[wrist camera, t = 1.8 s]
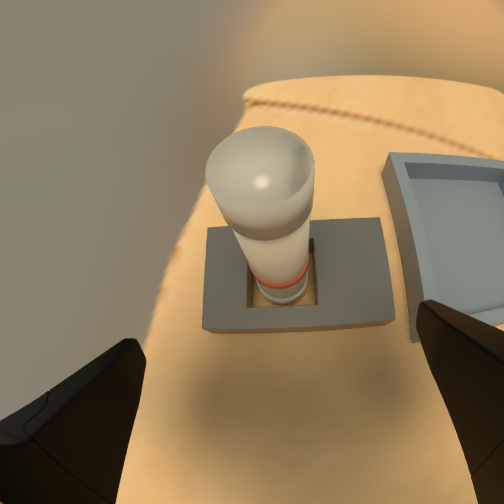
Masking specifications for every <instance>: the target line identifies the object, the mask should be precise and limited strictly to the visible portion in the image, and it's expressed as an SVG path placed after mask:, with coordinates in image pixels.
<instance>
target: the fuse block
mask: <svg viewBox="0 0 504 504" xmlns="http://www.w3.org/2000/svg"><path fill="white" fill-rule="evenodd" d="M308 250H309V253H313V266H314V281H315V297H316V305H304V306H283V307H256V308H253V273H252V271H251V269H250V267H249V264H248V261H247V259H246V257H245V255H244V253H243V250H242V248H241V246H240V244H239V242H238V240H237V238H236V236H235V234H234V232H233V230H232V228H231V227H230V226H223V227H210V228H208V230H207V244H206V259H205V276H204V294H203V316H202V329H204V330H206V331H209V332H211V333H283V332H305V331H322V330H336V329H349V328H360V327H371V326H380V325H385V324H387V323H389V322H391V321H393V320H395V310H394V301H393V293H392V285H391V278H390V271H389V265H388V258H387V252H386V247H385V241H384V236H383V231H382V226H381V221H380V217H375V218H352V219H331V220H313V221H310V227H309V247H308Z"/></svg>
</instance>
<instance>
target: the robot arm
mask: <svg viewBox="0 0 504 504" xmlns="http://www.w3.org/2000/svg"><path fill="white" fill-rule="evenodd" d="M416 330H417V333H418V336H419V339H420V341H421V344H422V347H423V350H424V353H425V356H426V359H427V362H428V365H429V367H430V370H431V372H432V374H433V377H434V379H435V381H436V383H437V386H438V388H439V390H440V393H441V395H442V397H443V400H444V402H445V404H446V407H447V409H448V412H449V414H450V417H451V419H452V422H453V425H454V427H455V430H456V433H457V435H458V438H459V441H460V444H461V447H462V450H463V453H464V456H465V459H466V462H467V465H468V468H469V471H470V474H471V479H472V482H473V486H474V490H475V493H476V497H477V501H478V504H504V331H502V330H500V329H498V328H496V327H493V326H491V325H489V324H487V323H485V322H482V321H480V320H478V319H476V318H473V317H471V316H469V315H467V314H464V313H462V312H460V311H458V310H455V309H453V308H451V307H448V306H446V305H444V304H441V303H439V302H437V301H435V300H432V299H429V300H425V301H421V302H420V303H419V305H418V311H417V318H416ZM145 368H146V357H145V355H144V353H143V351H142V349H141V347H140V345H139V342H138V341H137V340H136V339H134V338H126V339H123V340H122V341H120V342H119V343H117V344H116V345H114V346H113V347H111V348H110V349H109V350H107V351H106V352H104V353H103V354H101V355H100V356H98V357H97V358H96V359H94V360H93V361H91V362H90V363H88V364H87V365H85V366H84V367H82V368H81V369H80V370H78V371H77V372H75V373H74V374H72V375H71V376H69V377H68V378H66V379H65V380H64V381H62V382H61V383H59V384H58V385H56V386H55V387H53V388H52V389H50V391H47V392H46V393H45V394H43V395H42V396H40V397H39V398H37V399H36V400H34V401H33V402H31V403H30V404H28V405H26V406H25V407H23V408H21V409H20V410H18V411H16V412H15V413H13V414H11V415H9V416H8V417H6V418H4V419H2V420H1V421H0V504H116V498H117V493H118V489H119V484H120V479H121V475H122V470H123V466H124V461H125V457H126V453H127V449H128V444H129V440H130V436H131V432H132V429H133V425H134V421H135V417H136V413H137V410H138V406H139V402H140V397H141V391H142V385H143V379H144V373H145Z"/></svg>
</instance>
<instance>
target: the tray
mask: <svg viewBox="0 0 504 504" xmlns="http://www.w3.org/2000/svg"><path fill="white" fill-rule="evenodd" d="M382 178H383V181H384V185H385V189H386V192H387V196H388V200H389V204H390V208H391V212H392V217H393V221H394V226H395V230H396V235H397V240H398V245H399V250H400V255H401V261H402V267H403V273H404V279H405V286H406V293H407V301H408V310H409V319H410V330H411V342H419V341H420V339H419V336H418V333H417V330H416V318H417V311H418V305H419V303H420V302H421V301H425V300H429V299H432V300H435V301H437V302H439V303H441V304H444V305H446V306H448V307H451V308H453V309H455V310H458V311H460V312H462V313H464V314H467V315H469V316H471V317H473V318H476V319H478V320H480V321H482V322H485V323H487V324H489V325H491V326H496V325H500V324H504V161H500V160H492V159H484V158H475V157H465V156H453V155H440V154H423V153H396V152H389V154H388V157H387V160H386V163H385V166H384V169H383V172H382Z"/></svg>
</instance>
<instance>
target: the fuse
mask: <svg viewBox="0 0 504 504" xmlns="http://www.w3.org/2000/svg"><path fill="white" fill-rule="evenodd" d="M314 170H315V163H314V156H313V153H312V151H311V149H310V147H309V146H308V144H307V143H306V142H305V141H304V140H303V139H302V138H301V137H299V136H298V135H296V134H295V133H293V132H291V131H288V130H286V129H282V128H278V127H272V126H259V127H252V128H248V129H244V130H241V131H239V132H236V133H234V134H232V135H231V136H229V137H227V138H226V139H225V140H223V141H222V142H221V143H220V144H219V145H218V146H217V147H216V148H215V149H214V150H213V152H212V154H211V155H210V157H209V160H208V162H207V166H206V173H205V175H206V181H207V185H208V187H209V189H210V191H211V193H212V195H213V197H214V199H215V201H216V203H217V205H218V207H219V209H220V211H221V213H222V215H223V217H224V219H225V221H226V223H227V224H228V225H229V226H230V227H231V228H232V230H233V232H234V234H235V236H236V238H237V240H238V242H239V244H240V246H241V248H242V250H243V253H244V255H245V257H246V259H247V261H248V264H249V267H250V269H251V271H252V273H253V275H254V277H255V278H256V282H257V285H258V287H259V289H260V291H261V293H262V295H263V297H264V298H265V299H266V300H267V301H268V302H269V303H271V304H273V305H275V306H280V307H283V306H291V305H294V304H295V303H297V302H298V301H300V300H301V299H302V297H303V296H304V294H305V293H306V290H307V285H308V269H307V268H308V262H309V250H308V247H309V227H310V212H311V210H312V206H313V196H314Z"/></svg>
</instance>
